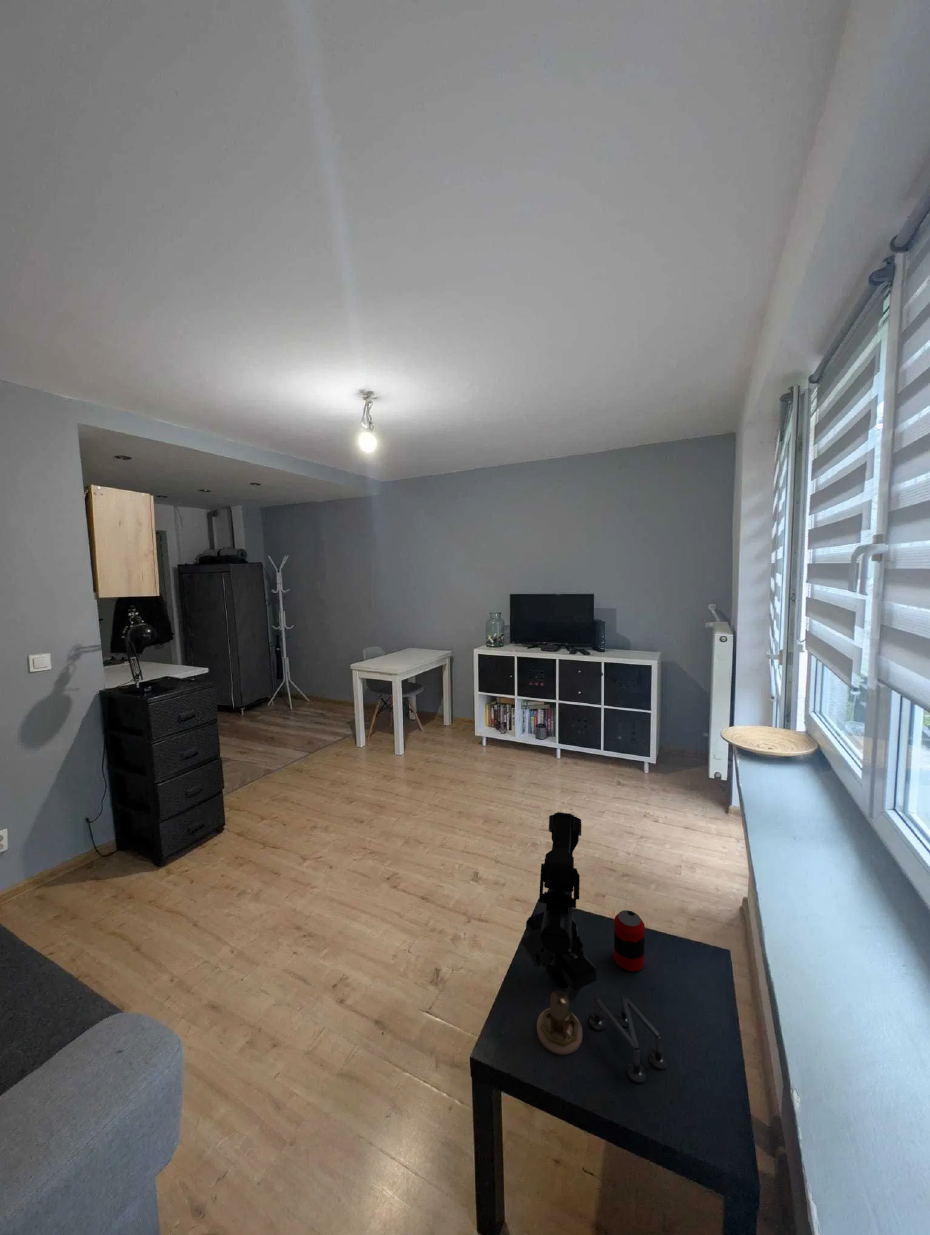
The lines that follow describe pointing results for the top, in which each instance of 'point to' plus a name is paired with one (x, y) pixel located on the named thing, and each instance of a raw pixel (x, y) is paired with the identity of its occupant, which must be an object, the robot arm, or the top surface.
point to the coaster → (555, 1047)
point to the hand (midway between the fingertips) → (559, 982)
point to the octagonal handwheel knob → (559, 1020)
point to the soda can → (629, 941)
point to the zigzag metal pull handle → (625, 1020)
